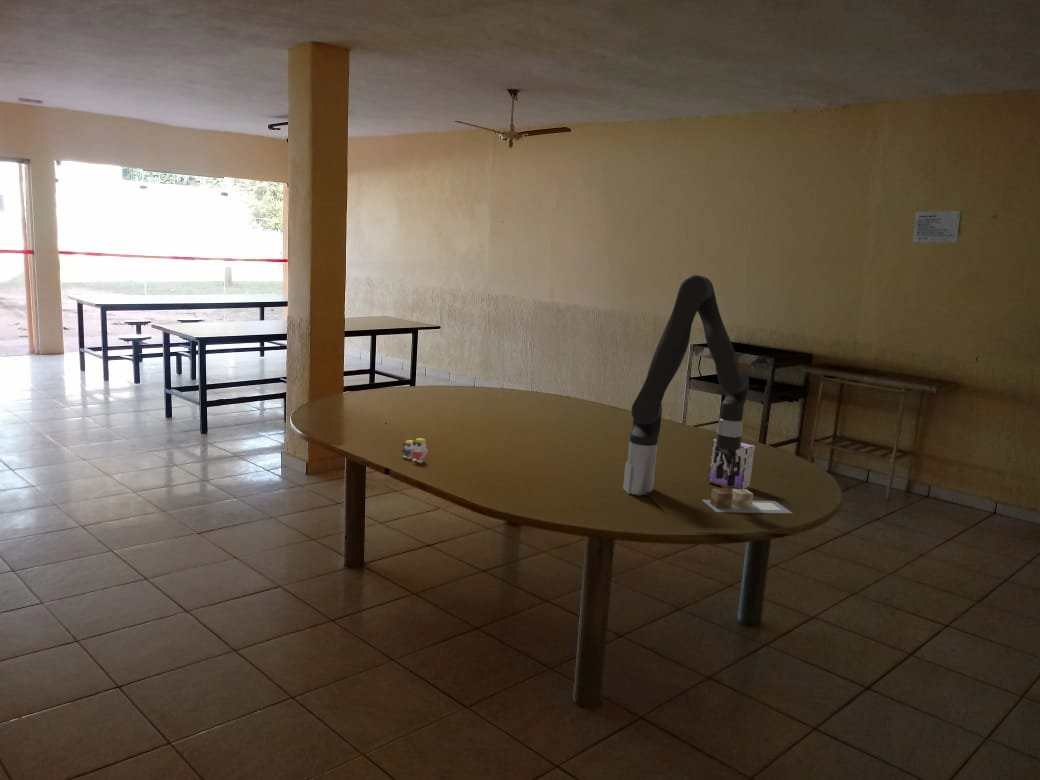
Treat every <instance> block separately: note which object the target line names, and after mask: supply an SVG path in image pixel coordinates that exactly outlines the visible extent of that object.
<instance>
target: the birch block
mask: <svg viewBox="0 0 1040 780" xmlns="http://www.w3.org/2000/svg"><path fill="white" fill-rule="evenodd" d="M731 493H733V497H732V505H733V506H734V507H735V508H737V509H752V501H754V500H753V499H754V493H753V492H751V491H750V490H748V488H746V489H737V488H731Z"/></svg>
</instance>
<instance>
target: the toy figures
mask: <svg viewBox="0 0 1040 780" xmlns="http://www.w3.org/2000/svg"><path fill="white" fill-rule="evenodd" d="M402 445H403V446H404V448H403V449H402V450H401V453H402V454H403V455H402V458H405V459H408V460H410V459H411V461H412V462H414V461H417V463H418V462H419V463H420V464H422V462H424V460H423V458H425V457H426V455H427V453H428V450H429V449H428V448H426V447H427V444H426V439H425V438H421V437H418V438H416V439H415V440H413V439H412V440H411V439H409V440H408V439H407V440H406V441H405V442H403V443H402ZM419 463H418V464H419Z"/></svg>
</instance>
